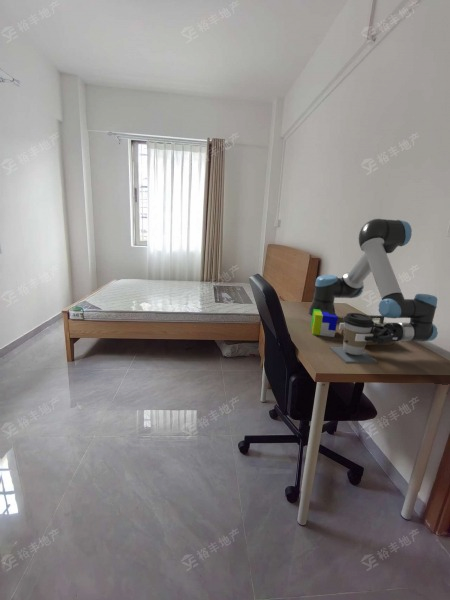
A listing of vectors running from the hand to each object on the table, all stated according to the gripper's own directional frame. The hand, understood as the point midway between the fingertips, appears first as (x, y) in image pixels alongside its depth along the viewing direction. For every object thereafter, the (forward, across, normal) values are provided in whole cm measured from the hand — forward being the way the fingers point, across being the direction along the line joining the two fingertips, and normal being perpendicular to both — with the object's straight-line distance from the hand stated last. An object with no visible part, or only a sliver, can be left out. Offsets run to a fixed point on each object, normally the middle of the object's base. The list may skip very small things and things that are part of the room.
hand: (347, 331), depth 109 cm
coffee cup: (-4, 0, -9) cm, 10 cm away
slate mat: (-4, 0, -10) cm, 11 cm away
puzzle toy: (-3, +25, -11) cm, 27 cm away
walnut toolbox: (-21, +16, -10) cm, 29 cm away
